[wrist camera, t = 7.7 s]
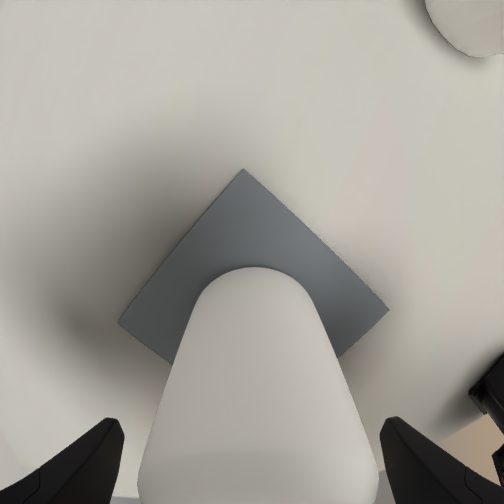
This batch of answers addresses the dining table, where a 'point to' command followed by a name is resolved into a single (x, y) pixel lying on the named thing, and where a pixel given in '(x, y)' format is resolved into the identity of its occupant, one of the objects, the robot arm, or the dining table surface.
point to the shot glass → (470, 24)
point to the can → (256, 405)
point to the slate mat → (250, 255)
